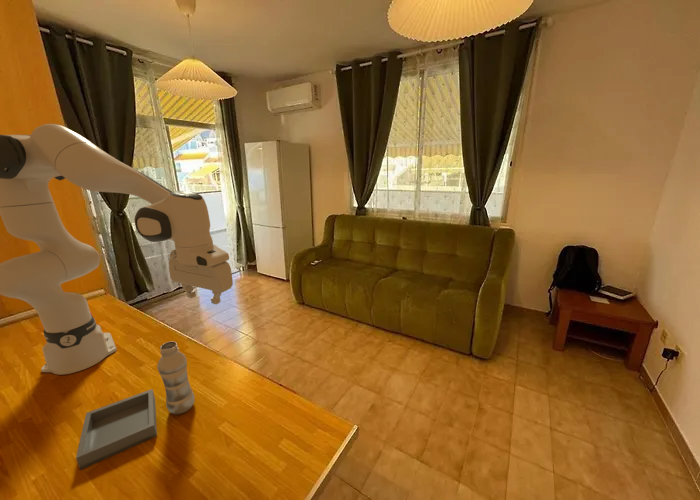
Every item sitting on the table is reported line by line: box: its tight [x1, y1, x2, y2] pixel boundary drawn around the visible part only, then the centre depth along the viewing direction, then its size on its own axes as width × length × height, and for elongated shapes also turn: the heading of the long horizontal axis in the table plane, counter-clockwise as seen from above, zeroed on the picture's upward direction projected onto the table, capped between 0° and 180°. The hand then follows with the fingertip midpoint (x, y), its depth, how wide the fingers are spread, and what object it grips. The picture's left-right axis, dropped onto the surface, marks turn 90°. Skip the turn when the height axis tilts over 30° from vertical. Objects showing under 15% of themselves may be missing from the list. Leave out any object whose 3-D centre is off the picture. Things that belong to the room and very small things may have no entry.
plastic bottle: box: [156, 340, 195, 415], centre depth 74 cm, size 6×7×20 cm
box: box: [75, 388, 158, 470], centre depth 71 cm, size 14×14×4 cm
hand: (203, 300), depth 80 cm, fingers open, 8 cm apart
